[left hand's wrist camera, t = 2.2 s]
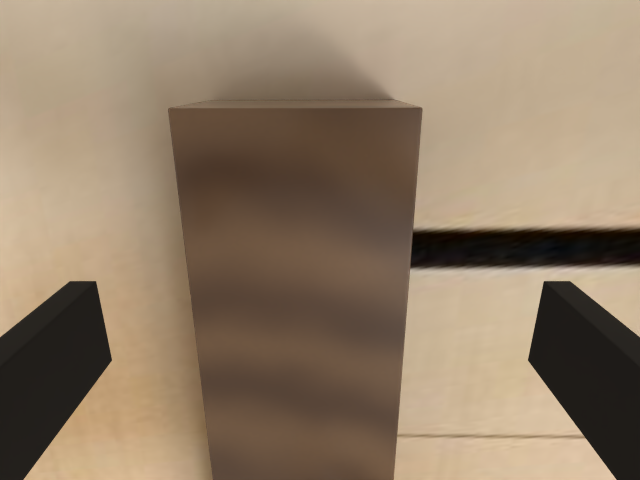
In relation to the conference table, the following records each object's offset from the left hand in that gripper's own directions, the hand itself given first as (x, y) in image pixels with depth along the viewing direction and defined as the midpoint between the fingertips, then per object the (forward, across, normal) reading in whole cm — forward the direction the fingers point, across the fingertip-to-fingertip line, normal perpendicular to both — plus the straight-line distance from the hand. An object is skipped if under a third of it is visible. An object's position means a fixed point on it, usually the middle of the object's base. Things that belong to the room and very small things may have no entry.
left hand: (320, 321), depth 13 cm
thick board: (+13, -1, -25) cm, 28 cm away
